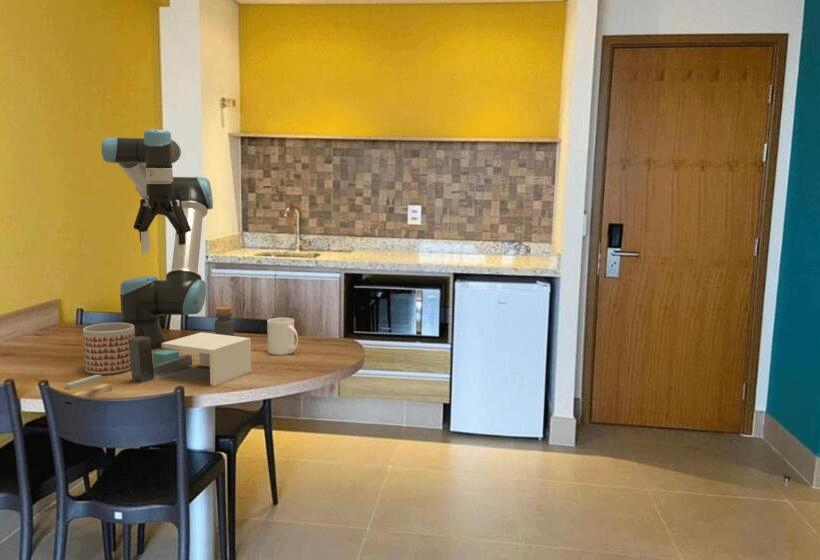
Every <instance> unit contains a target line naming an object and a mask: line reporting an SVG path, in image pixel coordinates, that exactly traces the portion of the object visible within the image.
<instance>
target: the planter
mask: <svg viewBox="0 0 820 560" xmlns="http://www.w3.org/2000/svg"><path fill="white" fill-rule="evenodd" d="M131 338H135V329H134V325H132V324H129V323H122V322H103V323H96V324H91V325H87V326H85V327H83V328H82V339H83V340H82V341H83V342H82V343H83V357H84V372H85V373H87V374H88V375H91V376H93V375H102V376H112V375H113V376H114V375H119V374H120V375H121V374H125V373H128V372H132V371H131V361H130V351H129V340H128V339H131Z"/></svg>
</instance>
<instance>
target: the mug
mask: <svg viewBox="0 0 820 560" xmlns="http://www.w3.org/2000/svg"><path fill="white" fill-rule="evenodd" d="M266 323H267V326H266V327H267V328H266V329H267V330H266V331H267V332H266V333H267V351H268V353H269V354H270V355H273V356H274V355H276V356H283V355H284V356H285V355H291V354H292V353H294V352H295V350H296V348H297V347H298V344H299V343H298V342H299V336H298V332H297V330H296V328H295V319H294V318H291V317H275V318H274V317H273V318H269V319H267V322H266ZM295 337H296V342H295Z"/></svg>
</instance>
